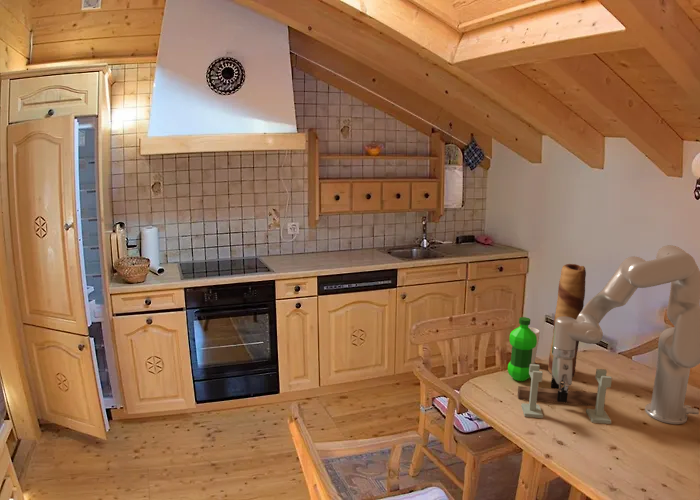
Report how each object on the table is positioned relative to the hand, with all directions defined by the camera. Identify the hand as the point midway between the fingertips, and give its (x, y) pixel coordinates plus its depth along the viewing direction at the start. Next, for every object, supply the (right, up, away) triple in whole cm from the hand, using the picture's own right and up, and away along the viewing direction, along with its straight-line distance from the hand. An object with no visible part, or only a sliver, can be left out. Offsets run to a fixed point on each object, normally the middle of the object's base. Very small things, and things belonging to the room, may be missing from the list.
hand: (558, 394), depth 189 cm
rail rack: (-1, -4, -9) cm, 10 cm away
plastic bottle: (-9, +2, +18) cm, 20 cm away
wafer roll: (+10, +2, +23) cm, 25 cm away
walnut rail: (0, -3, +1) cm, 3 cm away
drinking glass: (0, +5, +31) cm, 31 cm away
